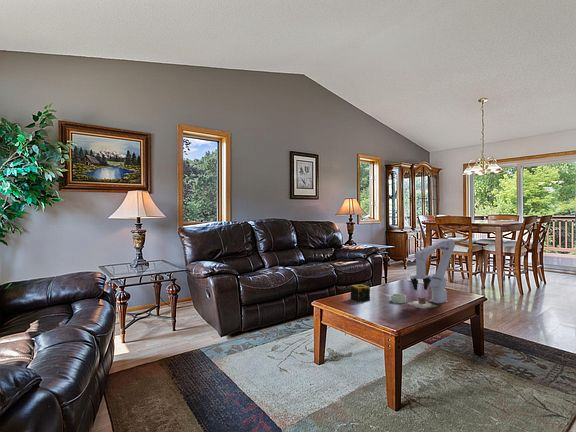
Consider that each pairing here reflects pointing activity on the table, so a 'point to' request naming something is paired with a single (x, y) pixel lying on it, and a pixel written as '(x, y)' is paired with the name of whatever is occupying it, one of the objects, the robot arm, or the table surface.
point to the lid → (422, 303)
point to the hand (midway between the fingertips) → (420, 289)
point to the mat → (421, 307)
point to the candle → (360, 293)
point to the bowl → (398, 298)
